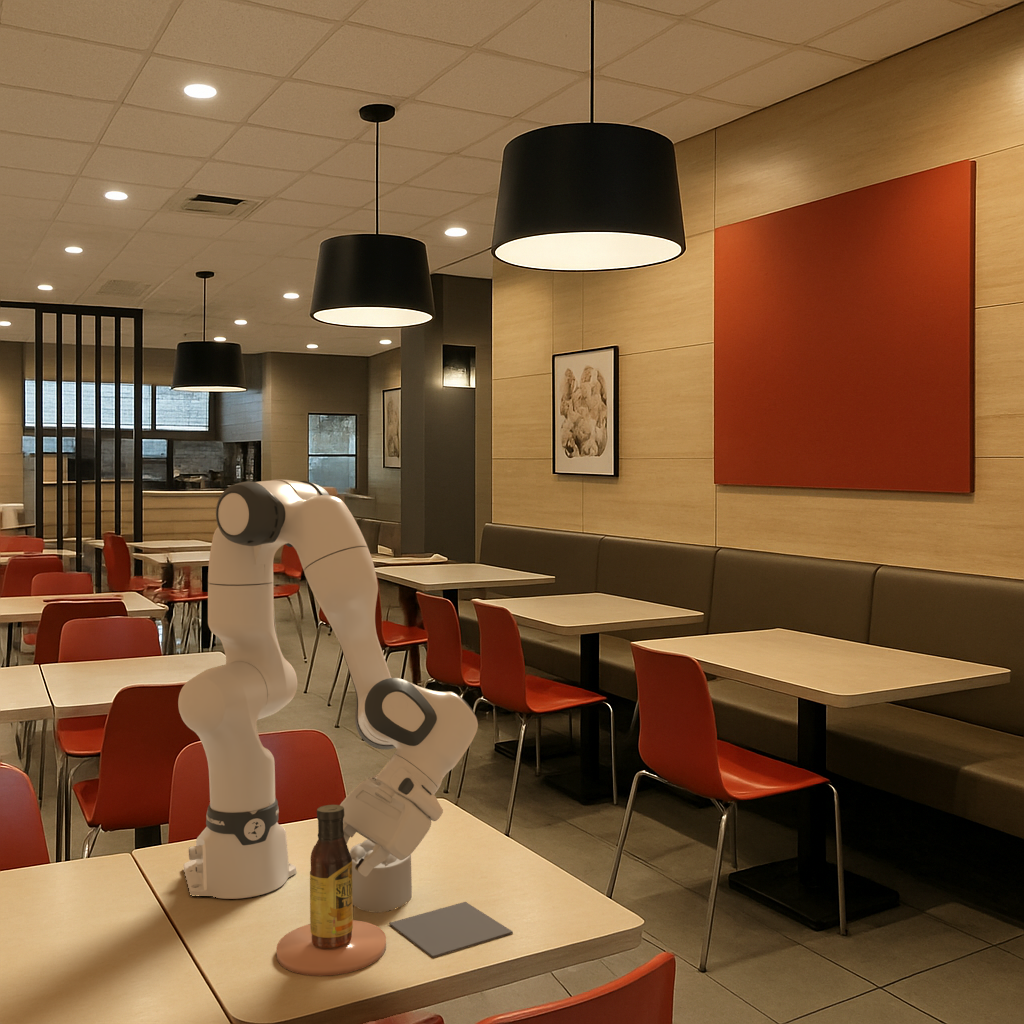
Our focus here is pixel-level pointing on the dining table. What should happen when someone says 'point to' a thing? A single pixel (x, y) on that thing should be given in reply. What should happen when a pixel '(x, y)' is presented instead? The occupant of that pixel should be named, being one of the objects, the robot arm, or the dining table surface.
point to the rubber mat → (450, 929)
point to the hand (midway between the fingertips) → (346, 863)
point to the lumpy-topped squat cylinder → (380, 881)
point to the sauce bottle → (331, 882)
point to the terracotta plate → (331, 951)
